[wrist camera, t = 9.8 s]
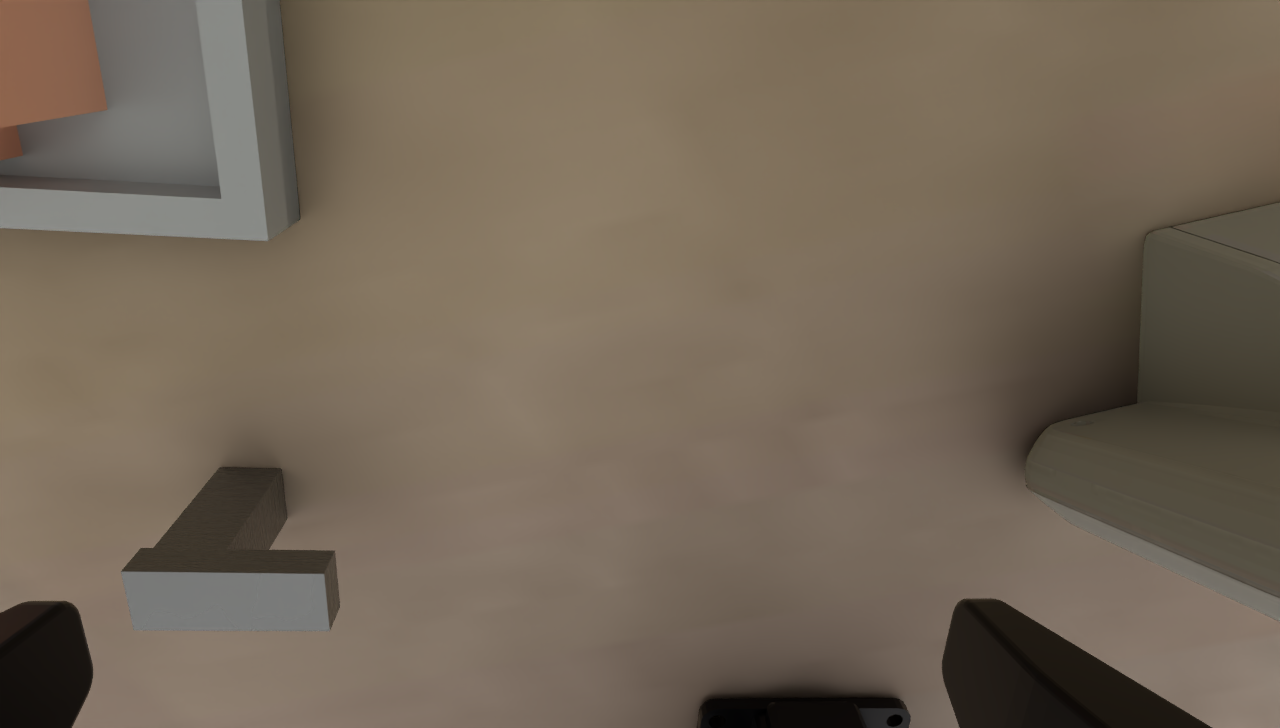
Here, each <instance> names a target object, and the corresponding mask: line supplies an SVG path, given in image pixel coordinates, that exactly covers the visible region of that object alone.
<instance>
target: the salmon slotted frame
mask: <svg viewBox="0 0 1280 728" xmlns="http://www.w3.org/2000/svg"><path fill="white" fill-rule="evenodd" d="M104 110H108V109H107V104H106V98H105V92H104V87H103V81H102V76H101V70H100V64H99V59H98V53H97V47H96V42H95V36H94V31H93V25H92V19H91V14H90V8H89V3H88V0H0V161H1V160H5V159H10V158H14V157H18V156H23V153H22V148H21V144H20V139H19V135H18V130H17V125H21V124H27V123H33V122H39V121H45V120H51V119H57V118H63V117H69V116H75V115H81V114H87V113H93V112H99V111H104Z"/></svg>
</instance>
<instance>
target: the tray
mask: <svg viewBox="0 0 1280 728" xmlns="http://www.w3.org/2000/svg"><path fill="white" fill-rule="evenodd" d="M88 3H89V8H90V14H91V19H92V25H93V31H94V36H95V42H96V47H97V53H98V59H99V64H100V70H101V76H102V81H103V87H104V92H105V98H106V104H107V109H108V110H104V111H99V112H93V113H87V114H81V115H75V116H69V117H63V118H57V119H51V120H45V121H39V122H33V123H27V124H21V125H17V130H18V135H19V139H20V144H21V148H22V153H23V156H18V157H14V158H10V159H5V160H1V161H0V228H11V229H32V230H52V231H73V232H93V233H114V234H134V235H154V236H175V237H195V238H216V239H236V240H257V241H269V240H271V239H272V238H274V237H275V236H276V235H278V234H279V233H281V232H282V231H284V230H285V229H287V228H288V227H290V226H291V225H293V224H294V223H296V222H297V221H299V220H300V211H299V201H298V190H297V180H296V169H295V158H294V148H293V137H292V127H291V116H290V105H289V95H288V84H287V74H286V63H285V53H284V42H283V31H282V21H281V10H280V0H88Z"/></svg>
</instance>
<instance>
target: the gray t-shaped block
mask: <svg viewBox="0 0 1280 728" xmlns="http://www.w3.org/2000/svg"><path fill="white" fill-rule="evenodd" d="M286 520H287V513H286V505H285V496H284V488H283V479H282V471H281V469H262V468H219V469H218V470H217V471H216V473H215V474H214V475H213V476H212V477H211V479H210V480H209V481H208V482H207V483H206V485H205V486H204V487H203V488H202V490H201V491H200V492H199V493H198V494H197V496H196V497H195V498H194V499H193V501H192V502H191V503H190V504H189V505H188V507H187V508H186V509H185V510H184V511H183V513H182V514H181V515H180V516H179V518H178V519H177V520H176V521H175V522H174V524H173V525H172V526H171V527H170V529H169V530H168V531H167V532H166V533H165V535H164V536H163V537H162V538H161V539H160V541H159V542H158V543H157V544H156V546H155V547H154V548H141V549H140V550H139V551H138V552H137V553H136V554H135V556H134V557H133V558H132V559H131V560H130V562H129V563H128V564H127V565H126V566H125V567H124V569H123V570H122V571H121V574H122V579H123V583H124V588H125V592H126V597H127V601H128V606H129V611H130V615H131V620H132V624H133V629H134V630H191V631H330V629H331V627H332V625H333V622H334V620H335V617H336V615H337V613H338V610H339V608H340V601H339V590H338V579H337V568H336V558H335V551H315V550H269V549H270V547H271V545H272V544H273V542H274V540H275V539H276V537H277V535H278V534H279V532H280V530H281V529H282V527H283V525H284V524H285V522H286Z"/></svg>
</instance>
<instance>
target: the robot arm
mask: <svg viewBox="0 0 1280 728" xmlns="http://www.w3.org/2000/svg"><path fill="white" fill-rule="evenodd" d="M942 673H943V679H944V683H945V686H946V689H947V692H948V695H949V698H950V701H951V704H952V707H953V710H954V712H955V715H956V718H957V721H958V724H959V727H960V728H1212V727H1210V726H1208V725H1207V724H1205V723H1204V722H1202V721H1200V720H1199V719H1197V718H1195V717H1194V716H1192V715H1190V714H1189V713H1187V712H1185V711H1184V710H1182V709H1180V708H1179V707H1177V706H1175V705H1174V704H1172V703H1170V702H1169V701H1167V700H1165V699H1164V698H1162V697H1160V696H1159V695H1157V694H1155V693H1154V692H1152V691H1150V690H1149V689H1147V688H1145V687H1144V686H1142V685H1140V684H1139V683H1137V682H1135V681H1134V680H1132V679H1130V678H1129V677H1127V676H1125V675H1124V674H1122V673H1120V672H1119V671H1117V670H1115V669H1114V668H1112V667H1111V666H1109V665H1107V664H1106V663H1104V662H1102V661H1101V660H1099V659H1097V658H1096V657H1094V656H1092V655H1091V654H1089V653H1087V652H1086V651H1084V650H1082V649H1081V648H1079V647H1077V646H1076V645H1074V644H1072V643H1071V642H1069V641H1067V640H1066V639H1064V638H1062V637H1061V636H1059V635H1057V634H1056V633H1054V632H1052V631H1051V630H1049V629H1047V628H1046V627H1044V626H1042V625H1041V624H1039V623H1037V622H1036V621H1034V620H1032V619H1031V618H1029V617H1027V616H1026V615H1024V614H1023V613H1021V612H1019V611H1018V610H1016V609H1014V608H1013V607H1011V606H1009V605H1008V604H1006V603H1004V602H1002V601H1001V600H997V599H963V600H961V601H959V602H958V603H957V605H956V606H955V609H954V611H953V615H952V620H951V624H950V628H949V633H948V637H947V641H946V646H945V650H944V654H943V660H942ZM92 679H93V664H92V660H91V656H90V652H89V648H88V645H87V641H86V637H85V633H84V629H83V625H82V621H81V617H80V614H79V611H78V609H77V608H76V607H75V606H74V605H73V604H72V603H69V602H67V601H28V602H24V603H21V604H18V605H16V606H14V607H12V608H10V609H8V610H6V611H4V612H2V613H0V728H72V726H73V724H74V722H75V720H76V718H77V716H78V714H79V712H80V710H81V708H82V706H83V704H84V702H85V700H86V698H87V696H88V693H89V691H90V688H91V684H92ZM716 715H720V716H719V717H715V718H714V717H713V716H716ZM891 715H893V716H891ZM909 724H910V714H909V712H908V710H907V708H906V706H905V704H904V702H903V701H901V700H900V699H896V698H749V699H711V700H709V701H707V702H705V703H704V704H703V705H702V706H701V707H700V710H699V715H698V723H697V728H909Z"/></svg>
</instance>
